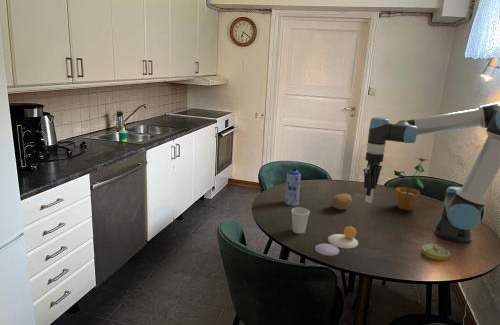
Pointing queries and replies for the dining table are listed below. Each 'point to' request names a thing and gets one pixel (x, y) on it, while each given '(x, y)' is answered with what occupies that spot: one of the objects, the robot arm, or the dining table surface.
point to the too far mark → (327, 249)
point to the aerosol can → (292, 187)
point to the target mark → (342, 241)
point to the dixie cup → (299, 219)
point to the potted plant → (409, 190)
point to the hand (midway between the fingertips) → (368, 201)
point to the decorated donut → (435, 252)
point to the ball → (350, 232)
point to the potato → (341, 201)
